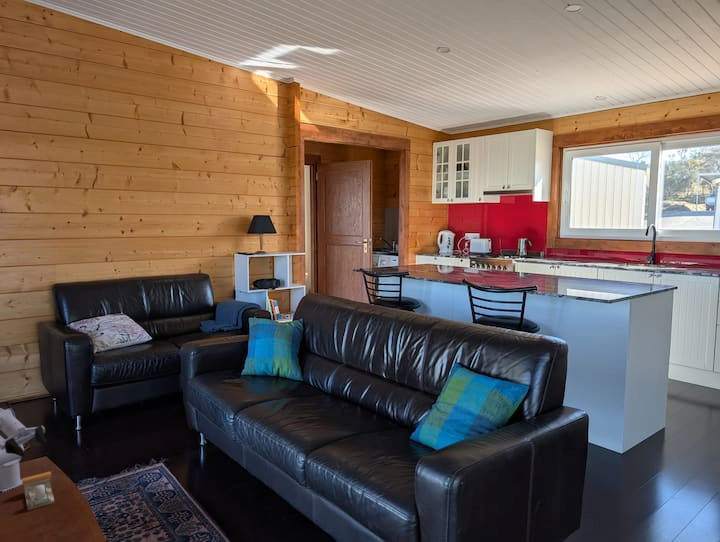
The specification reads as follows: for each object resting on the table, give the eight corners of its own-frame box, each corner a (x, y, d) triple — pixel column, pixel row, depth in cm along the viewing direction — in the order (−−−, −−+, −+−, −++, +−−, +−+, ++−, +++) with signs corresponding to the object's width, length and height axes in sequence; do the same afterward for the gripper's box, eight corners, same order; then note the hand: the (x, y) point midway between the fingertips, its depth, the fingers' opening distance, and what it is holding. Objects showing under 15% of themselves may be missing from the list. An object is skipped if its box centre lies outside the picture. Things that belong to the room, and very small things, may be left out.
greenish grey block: (33, 500, 184) (32, 486, 183) (46, 496, 186) (45, 482, 186) (34, 504, 181) (33, 490, 181) (47, 501, 184) (46, 487, 183)
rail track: (24, 492, 191) (23, 481, 191) (49, 485, 196) (49, 474, 195) (27, 510, 180) (27, 498, 180) (54, 502, 185) (53, 490, 184)
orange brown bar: (22, 482, 190) (22, 478, 190) (50, 475, 195) (50, 471, 195) (22, 485, 188) (22, 481, 188) (51, 477, 193) (51, 473, 193)
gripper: (-8, 429, 183) (11, 449, 176) (36, 413, 194) (55, 430, 188) (-7, 446, 185) (12, 465, 179) (36, 428, 197) (55, 446, 190)
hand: (34, 449), depth 183 cm, fingers open, 7 cm apart
